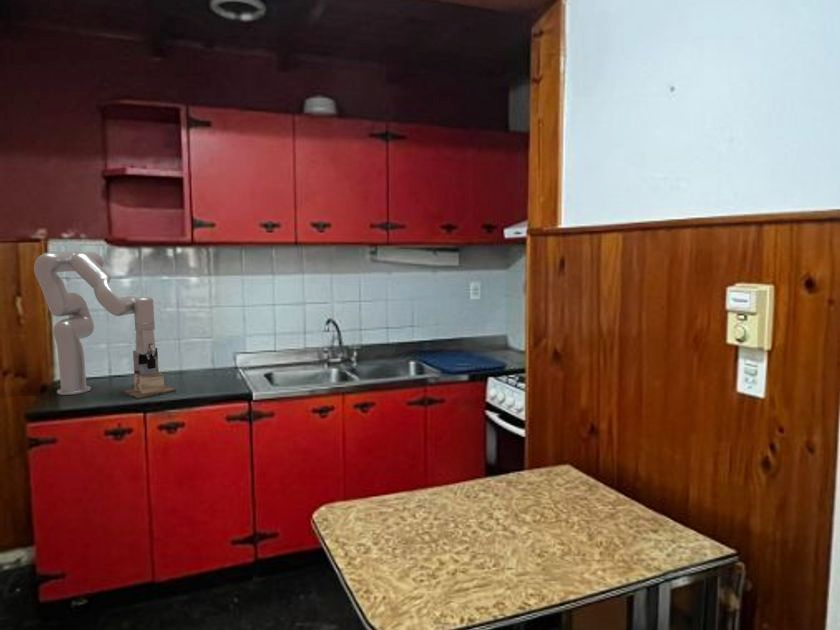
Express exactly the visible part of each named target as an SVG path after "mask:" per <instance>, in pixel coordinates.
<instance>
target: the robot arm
mask: <svg viewBox="0 0 840 630" xmlns="http://www.w3.org/2000/svg"><path fill="white" fill-rule="evenodd" d="M104 266H105V265H104V258H103V257H102V256H101V255H100V254H99V253H97V252H94V251H85V252H84V251H83V252H81V251H49V252H44V253H43V254H41V255H39V256H38V257H37V258H36V259H35V262H34V265H33V272H34V275H35V278H36V280H37V282H38V284H39V286H40V289H41V291H42V294H43V297H44V300H45V302H46V305H47V308H48V309H49V312H50V313H51V315H52V316H54V317H59V318H60V317H66V316H68V318H63V319H61V320H59V321H58V322H56V323H55V325H54V327H53V337H54V339H55V343H56V347H57V357H58V367H59V369H58V370H59V379H60V381H59V382H60V388H59V389H57V390H56V394H58V395H61V396H64V395H65V396H67V395H70V396H71V395H78V394H79V395H80V394H84V393H88V392H90V391H91V389H92V388H91V386H89V385H87V376H86V364H85V363H86V361H85V352H84V347H83V344H82V342H81V339H84V338H88V337H90V336H91V335H92V334H93V333H94V329H95V326H94V321H93V319H92V315H91V312H90V310H89V307H88V305H87V302H86V300H85V299H84V297H82V295H81V294H79V293H76V292H68V291H67V288H66V286H65V283H64V281H63V280H62V278H61V277H60V276H59V275H58V273H61V272H62V273H64V272H75V273H77V274H78V275H79V277H81V278H82V279H83V280H84V281H85V282H86V283H87V284H88V285H89V286H90V287H91V288H92V289H93V292H94V293H93V294H94V295H95V299H96V300H97V301H98V303H99V304H100V306H102V307H103V308H104V309H105V310H106V311H107V312H108V313H110V314H111V315H113V316H116V317H122V316H127V315H133V314H134V315H133V316H134V331H135V350H136V352H137V353H138V360H139V365H140V364H147V368H148V369H152V368H156V363H155V358H156V357H155V351H156V350H155V348H156V340H155V339H156V338H155V332H154V331H155V330H156V328H155V327H156V326H155V324H156V323H155V310H154V309H155V308H154V307H155V305H154V299H153V298H152V297H150V296H144V297H143V296H141V297H139V296H138V297H137V296H130V295H129V296H122V297H121V296H120V297H119V296H118V295H117V294H116V293H114V292H113V291H112V290H111V288H110V286H109V283H110V282H111V279H112V276H111V274H110V273H108V272H107V270H105V269H104V268H103V267H104ZM145 355H147V356H145ZM149 355H150V356H149ZM147 358H148V359H147Z"/></svg>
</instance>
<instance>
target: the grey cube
mask: <svg viewBox="0 0 840 630" xmlns="http://www.w3.org/2000/svg"><path fill="white" fill-rule="evenodd" d="M139 369H140V376H142V377H143V376H149V375H155V374H156V368H152V369H148V368H147V364H140V365H139Z"/></svg>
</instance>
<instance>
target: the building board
mask: <svg viewBox="0 0 840 630" xmlns="http://www.w3.org/2000/svg"><path fill="white" fill-rule="evenodd" d="M133 375H134V376H133V386H134V388H128V389H123V390H122V392H124V393H123V394H125V393H126V395H127V394H128V395H127V396H129V395H130V397H131V396H133V397H132V398H134V397H135V398H134V399H136V398H140V399H143V398H142V397H146V398H149V397H148V396H151V397H154V396H153V395H157V394H162V395H164V394H163V393H168V394H170V393H169V392H173V393H176V392H177V390H176V388H172V387H170V386H168V385H165V379H164V378H165V377H164V375H163V373H162V372H160V371H159V372H156V374H155V375H149V376H143V377H142V376H140V373H138V374H134V373H133ZM175 391H176V392H175ZM157 396H158V395H157Z"/></svg>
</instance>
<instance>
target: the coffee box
mask: <svg viewBox="0 0 840 630" xmlns="http://www.w3.org/2000/svg"><path fill="white" fill-rule="evenodd" d="M155 350H156V351H155V357H156V358H155V363H156V372H159V373H160V370H159V357H158V356H159V355H158V348H157V347H155ZM132 356H133V359H132V360H133V361H132V362H133V375H134V374H138V373H140V369H139V360H138V353H137V352H136V349H135V350H132ZM145 356H147V355H145ZM149 356H150V355H149ZM147 359H148V358H147Z"/></svg>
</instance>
